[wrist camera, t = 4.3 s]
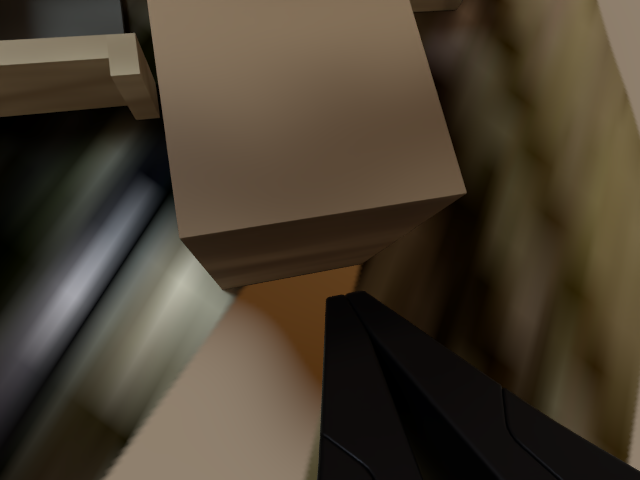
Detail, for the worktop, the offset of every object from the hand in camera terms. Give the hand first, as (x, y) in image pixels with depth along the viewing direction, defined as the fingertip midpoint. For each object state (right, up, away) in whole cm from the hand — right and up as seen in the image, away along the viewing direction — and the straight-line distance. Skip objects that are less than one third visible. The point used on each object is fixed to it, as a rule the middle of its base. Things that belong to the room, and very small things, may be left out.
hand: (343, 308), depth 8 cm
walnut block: (-3, +7, +9) cm, 12 cm away
